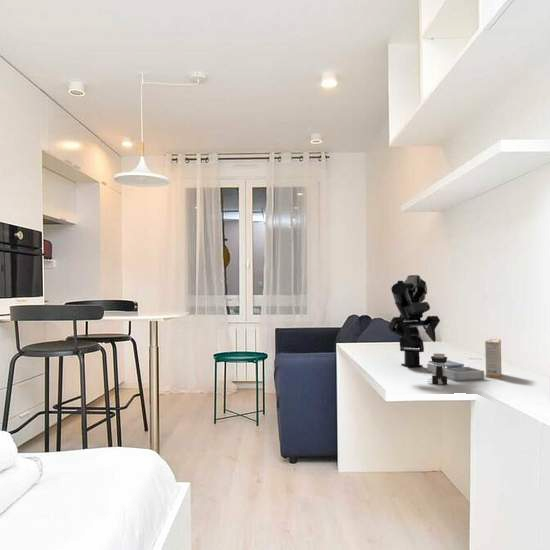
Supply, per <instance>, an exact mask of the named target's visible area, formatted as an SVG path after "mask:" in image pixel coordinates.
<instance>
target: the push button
mask: <svg viewBox="0 0 550 550" xmlns="http://www.w3.org/2000/svg"><path fill="white" fill-rule="evenodd" d="M430 358H431V361H432V362H434V364H433V365H434V373H432V375H431V378H430V380H431V381H429V380H428V381H426V382H427V383H432V384H433V385H443V386H444V385H448V379H447V377H446V376H443V375H446V374H445V368H446V367H445V363H446V362H447V360H448V357H447V356H446V355H445V353H433V355H432V356H430ZM436 364H437V365H436ZM442 364H443V366H442ZM442 367H443V370H442Z"/></svg>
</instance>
